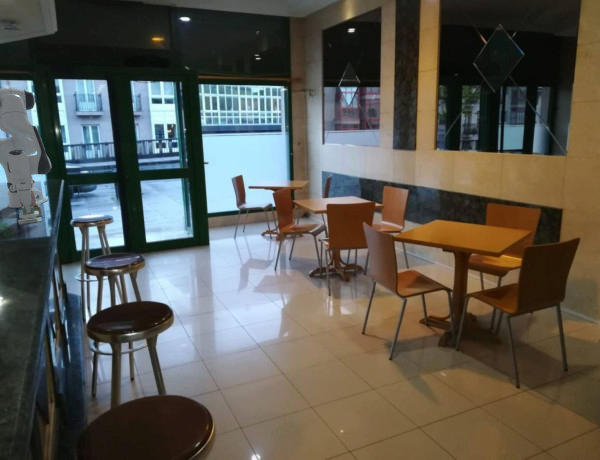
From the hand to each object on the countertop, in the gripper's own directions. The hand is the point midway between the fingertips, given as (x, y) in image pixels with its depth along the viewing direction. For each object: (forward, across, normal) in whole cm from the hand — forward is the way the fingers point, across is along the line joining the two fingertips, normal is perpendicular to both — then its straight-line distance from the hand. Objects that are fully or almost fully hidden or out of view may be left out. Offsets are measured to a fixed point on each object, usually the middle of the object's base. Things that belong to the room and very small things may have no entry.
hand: (28, 211), depth 233 cm
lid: (+2, 0, 0) cm, 2 cm away
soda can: (+5, -28, +1) cm, 28 cm away
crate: (+5, -12, +2) cm, 13 cm away
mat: (+5, 0, 0) cm, 5 cm away
